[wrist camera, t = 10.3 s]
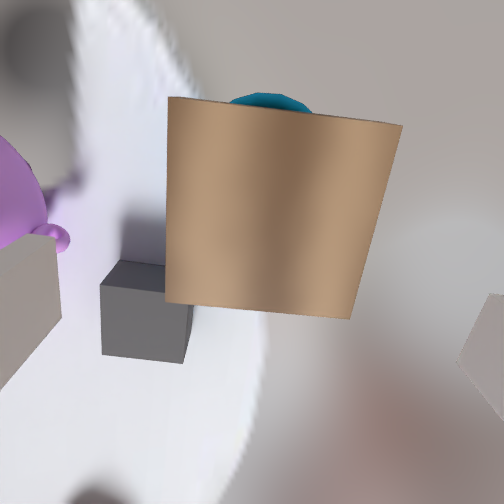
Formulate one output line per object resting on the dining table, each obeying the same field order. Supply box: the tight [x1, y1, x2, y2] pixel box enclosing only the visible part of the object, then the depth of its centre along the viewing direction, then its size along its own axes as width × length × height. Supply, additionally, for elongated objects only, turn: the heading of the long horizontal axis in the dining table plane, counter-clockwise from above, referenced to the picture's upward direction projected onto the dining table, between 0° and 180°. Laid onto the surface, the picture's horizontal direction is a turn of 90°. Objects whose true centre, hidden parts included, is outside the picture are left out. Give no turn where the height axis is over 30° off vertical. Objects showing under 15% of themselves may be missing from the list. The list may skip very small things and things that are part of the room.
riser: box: [100, 260, 194, 364], centre depth 31 cm, size 7×7×4 cm
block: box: [165, 97, 403, 319], centre depth 20 cm, size 11×11×3 cm
